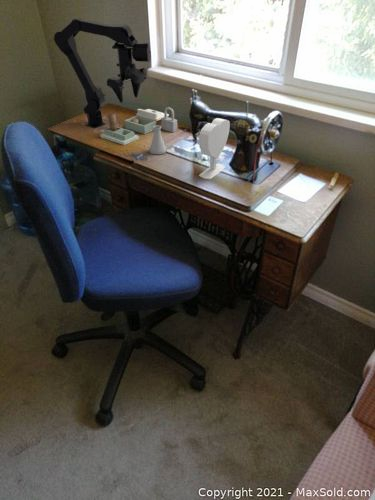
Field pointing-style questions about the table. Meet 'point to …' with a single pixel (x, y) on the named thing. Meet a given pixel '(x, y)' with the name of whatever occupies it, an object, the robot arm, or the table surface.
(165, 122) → the padlock
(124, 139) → the build board
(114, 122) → the dowel
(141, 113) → the cover
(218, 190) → the table surface
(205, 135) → the heart sculpture
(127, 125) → the box
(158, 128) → the flask
